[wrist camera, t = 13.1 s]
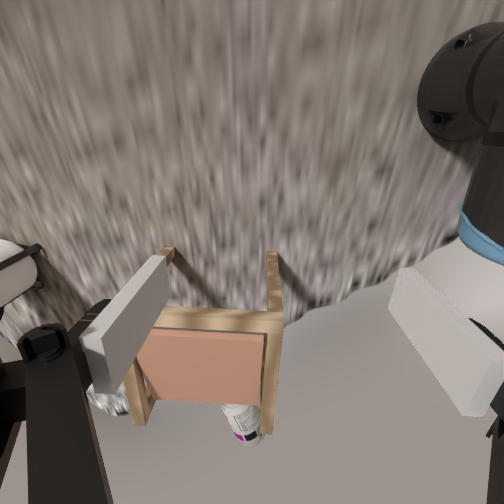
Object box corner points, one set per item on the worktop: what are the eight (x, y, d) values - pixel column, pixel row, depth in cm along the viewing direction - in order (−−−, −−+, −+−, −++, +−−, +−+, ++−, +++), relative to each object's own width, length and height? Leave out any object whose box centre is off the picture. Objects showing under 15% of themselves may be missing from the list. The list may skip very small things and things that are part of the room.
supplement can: (234, 448, 70) (214, 410, 65) (242, 417, 77) (224, 380, 72) (264, 449, 68) (245, 410, 62) (269, 417, 75) (252, 379, 69)
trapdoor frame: (276, 251, 55) (284, 321, 35) (269, 339, 64) (272, 434, 44) (164, 246, 55) (108, 311, 35) (173, 333, 65) (133, 425, 45)
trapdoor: (263, 325, 37) (263, 341, 35) (258, 390, 48) (257, 405, 46) (134, 318, 38) (127, 333, 36) (157, 384, 48) (153, 399, 46)
